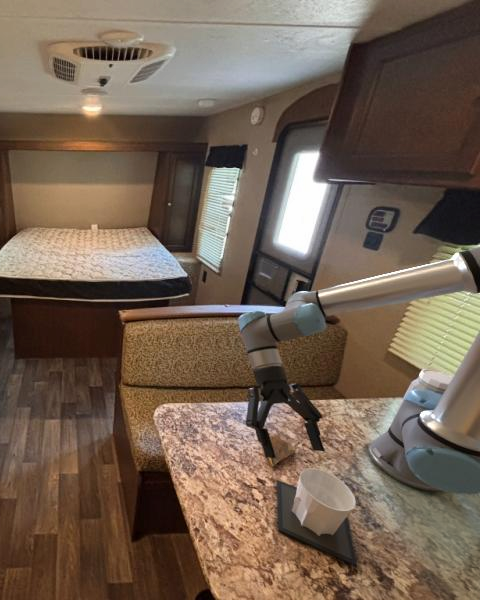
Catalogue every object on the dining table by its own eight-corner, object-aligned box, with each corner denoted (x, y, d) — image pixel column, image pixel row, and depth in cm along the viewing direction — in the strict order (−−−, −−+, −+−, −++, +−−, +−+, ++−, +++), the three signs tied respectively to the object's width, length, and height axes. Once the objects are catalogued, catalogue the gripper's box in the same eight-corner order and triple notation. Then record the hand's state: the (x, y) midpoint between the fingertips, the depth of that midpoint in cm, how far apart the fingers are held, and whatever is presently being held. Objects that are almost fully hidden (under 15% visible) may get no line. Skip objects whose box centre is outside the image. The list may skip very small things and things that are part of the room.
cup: (351, 539, 69) (368, 509, 65) (308, 542, 68) (322, 512, 64) (316, 495, 78) (329, 467, 74) (278, 497, 77) (289, 468, 73)
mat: (343, 508, 76) (344, 506, 76) (356, 567, 64) (357, 565, 64) (276, 481, 82) (277, 479, 82) (278, 531, 71) (279, 529, 70)
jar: (444, 436, 97) (474, 389, 90) (406, 429, 100) (432, 383, 93) (422, 414, 106) (448, 370, 99) (388, 408, 108) (410, 364, 101)
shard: (271, 468, 85) (273, 463, 85) (246, 447, 92) (248, 443, 91) (295, 454, 90) (297, 449, 89) (270, 435, 96) (272, 430, 96)
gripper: (296, 366, 91) (325, 447, 83) (217, 373, 87) (240, 459, 79) (318, 361, 84) (351, 448, 76) (233, 368, 80) (259, 461, 72)
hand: (295, 454), depth 77 cm, fingers open, 13 cm apart
